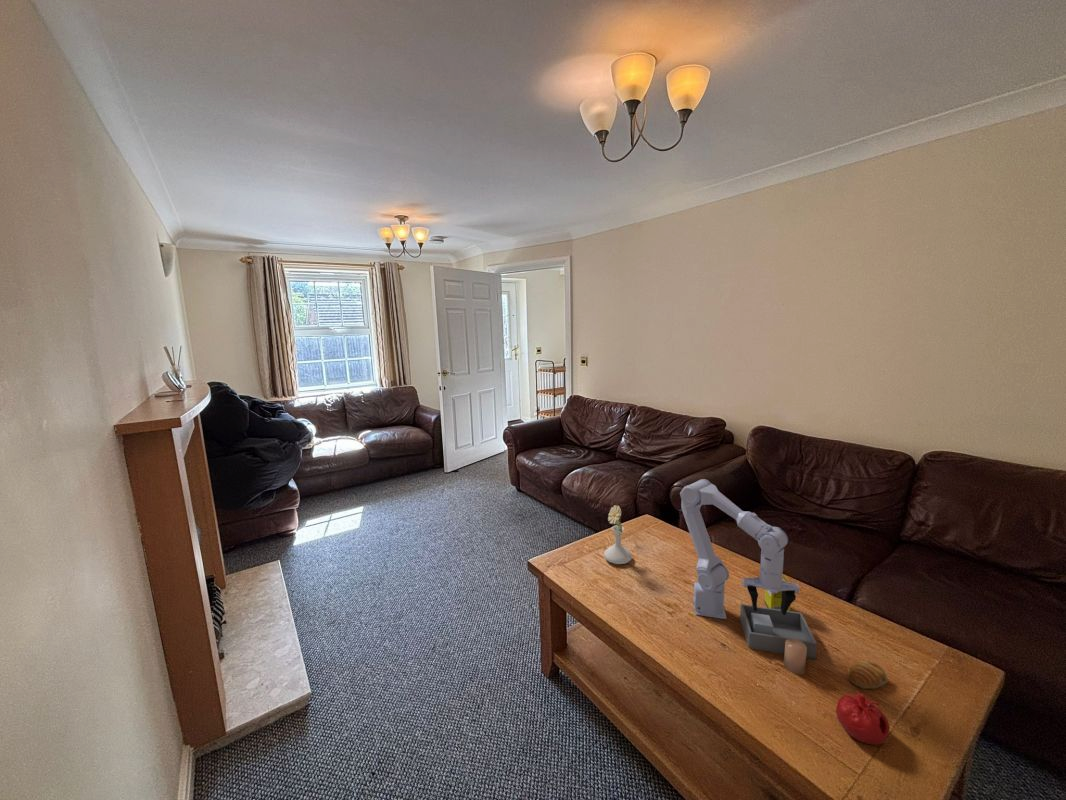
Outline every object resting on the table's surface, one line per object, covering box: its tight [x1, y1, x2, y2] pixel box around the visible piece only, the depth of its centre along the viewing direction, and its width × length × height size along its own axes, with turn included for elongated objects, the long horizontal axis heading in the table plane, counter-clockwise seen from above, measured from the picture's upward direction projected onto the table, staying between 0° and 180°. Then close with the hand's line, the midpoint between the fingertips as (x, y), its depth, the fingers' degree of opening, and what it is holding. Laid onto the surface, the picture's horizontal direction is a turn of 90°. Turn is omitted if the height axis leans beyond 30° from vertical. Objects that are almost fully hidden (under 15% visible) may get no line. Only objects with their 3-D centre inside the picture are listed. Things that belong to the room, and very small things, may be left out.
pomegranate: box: [835, 690, 891, 745], centre depth 95 cm, size 10×10×9 cm
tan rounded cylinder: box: [783, 638, 807, 676], centre depth 114 cm, size 5×5×7 cm
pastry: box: [848, 659, 890, 690], centre depth 109 cm, size 9×7×4 cm
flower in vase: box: [603, 505, 633, 565], centre depth 167 cm, size 13×11×25 cm
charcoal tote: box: [739, 603, 818, 660], centre depth 125 cm, size 17×13×5 cm
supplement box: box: [763, 574, 791, 611], centre depth 137 cm, size 6×6×11 cm
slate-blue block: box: [750, 613, 773, 635], centre depth 126 cm, size 5×5×5 cm
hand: (768, 610), depth 122 cm, fingers open, 7 cm apart
